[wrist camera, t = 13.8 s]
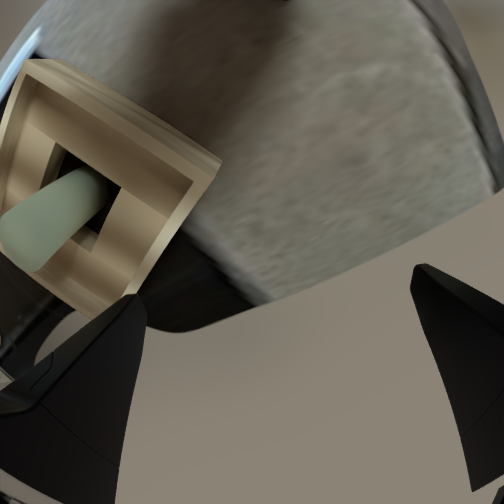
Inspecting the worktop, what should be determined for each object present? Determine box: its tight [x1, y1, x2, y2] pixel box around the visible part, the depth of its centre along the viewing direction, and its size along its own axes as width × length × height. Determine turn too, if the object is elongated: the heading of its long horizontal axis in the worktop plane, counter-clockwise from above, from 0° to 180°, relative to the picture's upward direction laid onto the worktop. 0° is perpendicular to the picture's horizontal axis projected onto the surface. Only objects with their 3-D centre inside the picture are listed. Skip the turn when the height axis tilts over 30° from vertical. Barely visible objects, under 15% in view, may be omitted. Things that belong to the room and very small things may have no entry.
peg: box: [0, 166, 109, 272], centre depth 16 cm, size 4×4×9 cm
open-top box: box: [0, 59, 223, 320], centre depth 18 cm, size 16×16×4 cm
